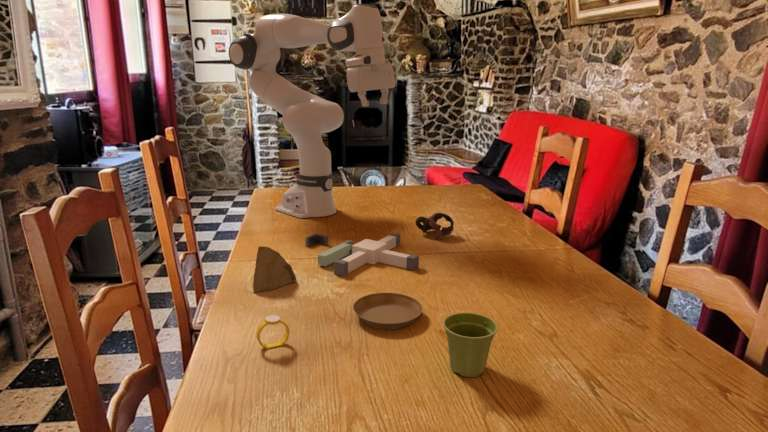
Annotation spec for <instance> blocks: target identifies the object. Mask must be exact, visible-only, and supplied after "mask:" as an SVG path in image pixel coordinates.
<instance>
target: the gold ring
mask: <svg viewBox="0 0 768 432" xmlns="http://www.w3.org/2000/svg"><path fill="white" fill-rule="evenodd" d="M278 324H283V326H284V327H285V334H284V335H283V337H282V338H281V339H280V341H277V342H272V343H267V344H266V343H264V342H262V340H261V333H262V331H263V329H264V328H265V327H267V326H268V325H271V326H274V325H275V326H276V325H278ZM290 334H291V333H290V327H289V325H288V324H287V322H286V321H285V320H284V319H282V318H281V317H280V316H279V315H276V314H271V315H268V316H265V319H264V320H263V321H262V322H261V323H260V324H259V326H258V327H257V329H256V336H255V337H256V340H257V341H258V344H259V345H260V346H261V348H264V349H265V350H269V349H274V348H279V347H283V346H284V345H285V344H286V343H287V341H288V339H289V337H290Z"/></svg>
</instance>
